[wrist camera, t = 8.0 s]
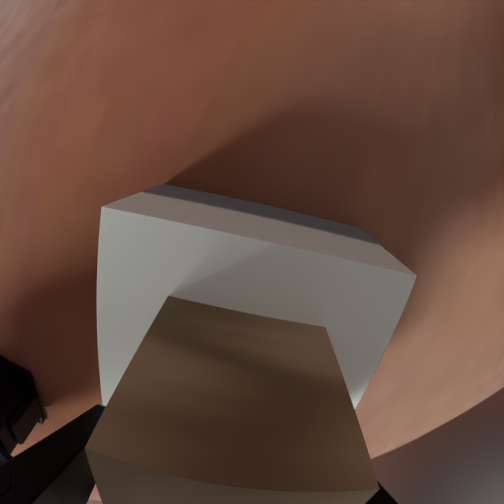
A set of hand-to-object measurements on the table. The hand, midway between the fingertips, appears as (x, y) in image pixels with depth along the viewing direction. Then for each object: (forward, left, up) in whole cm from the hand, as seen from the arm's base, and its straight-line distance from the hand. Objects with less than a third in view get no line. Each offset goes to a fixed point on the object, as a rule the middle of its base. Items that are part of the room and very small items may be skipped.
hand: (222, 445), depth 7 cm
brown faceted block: (0, 0, -3) cm, 3 cm away
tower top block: (0, 0, -6) cm, 7 cm away
